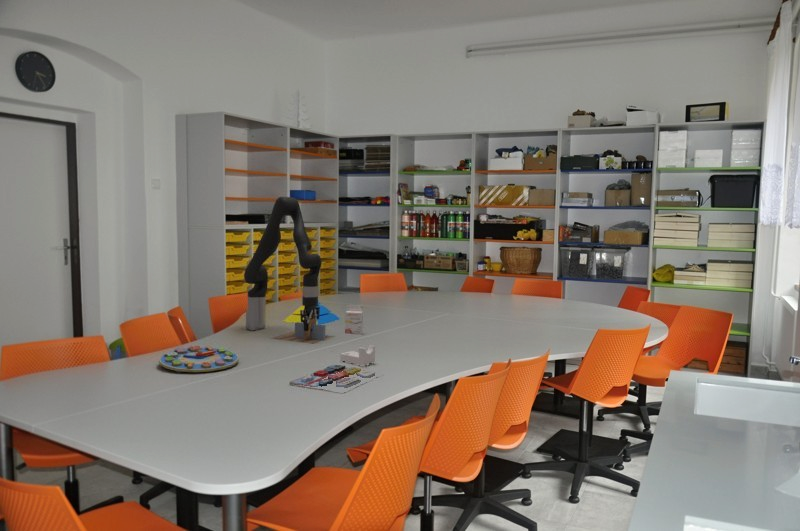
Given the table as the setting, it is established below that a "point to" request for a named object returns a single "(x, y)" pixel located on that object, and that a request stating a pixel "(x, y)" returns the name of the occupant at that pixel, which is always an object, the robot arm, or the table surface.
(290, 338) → the walnut base board
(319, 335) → the slate-blue slotted plate
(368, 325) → the table surface
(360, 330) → the ink cartridge box
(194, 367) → the shape sorting clock
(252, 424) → the table surface
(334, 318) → the pyramid toy
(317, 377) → the puzzle board
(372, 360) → the bracket
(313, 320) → the oak slotted plate
